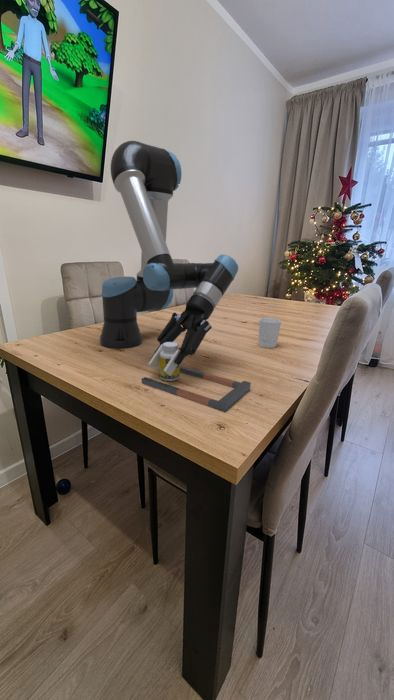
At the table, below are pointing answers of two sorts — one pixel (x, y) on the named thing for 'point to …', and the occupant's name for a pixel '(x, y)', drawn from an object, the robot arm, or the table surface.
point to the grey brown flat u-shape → (222, 404)
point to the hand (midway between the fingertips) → (159, 369)
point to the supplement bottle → (165, 357)
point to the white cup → (268, 332)
